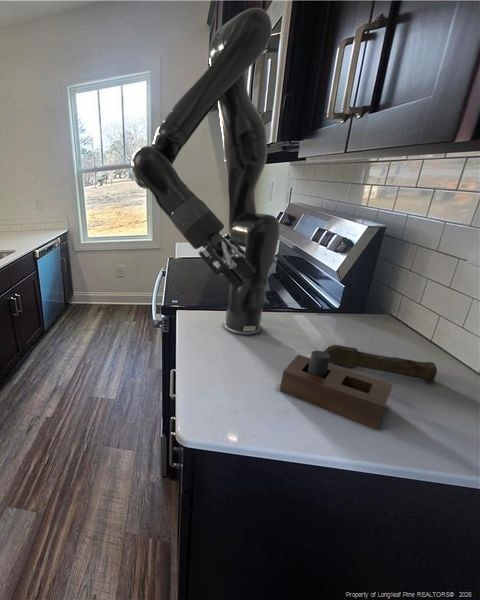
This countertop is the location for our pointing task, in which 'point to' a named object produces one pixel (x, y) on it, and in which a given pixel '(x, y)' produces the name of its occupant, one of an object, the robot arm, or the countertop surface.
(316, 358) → the dark grey cylinder
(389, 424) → the countertop surface
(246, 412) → the countertop surface
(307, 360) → the holder
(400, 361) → the hand tool
